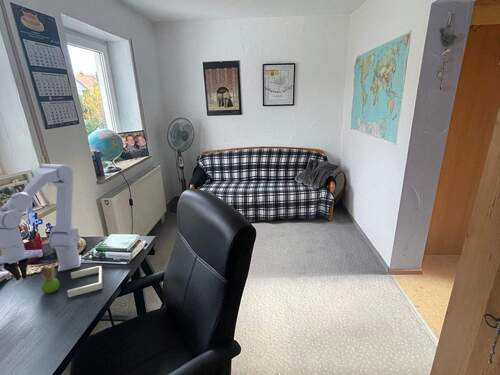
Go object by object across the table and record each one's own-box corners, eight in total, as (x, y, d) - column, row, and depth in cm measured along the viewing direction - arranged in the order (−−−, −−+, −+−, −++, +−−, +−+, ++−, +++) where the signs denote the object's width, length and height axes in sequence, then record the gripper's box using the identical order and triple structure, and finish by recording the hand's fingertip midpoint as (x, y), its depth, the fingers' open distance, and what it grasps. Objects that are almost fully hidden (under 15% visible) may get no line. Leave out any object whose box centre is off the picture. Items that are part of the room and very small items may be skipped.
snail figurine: (53, 297, 97) (46, 269, 93) (39, 295, 98) (31, 267, 94) (66, 287, 102) (59, 260, 98) (52, 285, 103) (45, 258, 99)
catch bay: (72, 277, 108) (70, 272, 107) (102, 270, 112) (101, 265, 112) (68, 297, 97) (67, 291, 96) (102, 288, 102) (101, 282, 101)
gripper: (-22, 255, 83) (-10, 291, 87) (36, 244, 90) (45, 278, 94) (-14, 244, 89) (-3, 279, 93) (40, 235, 95) (48, 267, 100)
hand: (21, 278), depth 94 cm, fingers closed
